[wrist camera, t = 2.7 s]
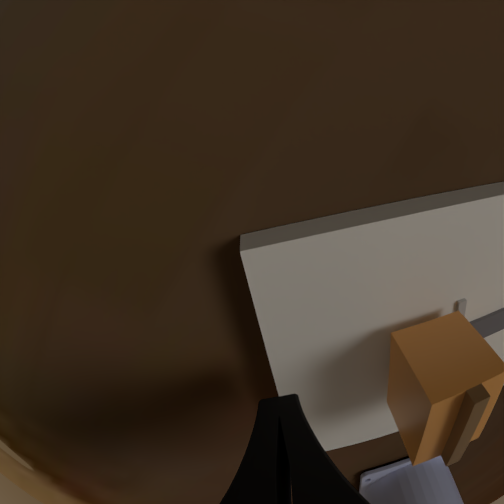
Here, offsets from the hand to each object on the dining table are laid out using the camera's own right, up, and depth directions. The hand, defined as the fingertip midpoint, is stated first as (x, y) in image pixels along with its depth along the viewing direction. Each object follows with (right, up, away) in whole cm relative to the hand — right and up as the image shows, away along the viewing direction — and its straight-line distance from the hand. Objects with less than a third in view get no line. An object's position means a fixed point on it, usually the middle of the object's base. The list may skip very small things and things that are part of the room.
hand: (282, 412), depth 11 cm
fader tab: (+6, +2, 0) cm, 6 cm away
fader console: (+13, +4, +2) cm, 14 cm away
